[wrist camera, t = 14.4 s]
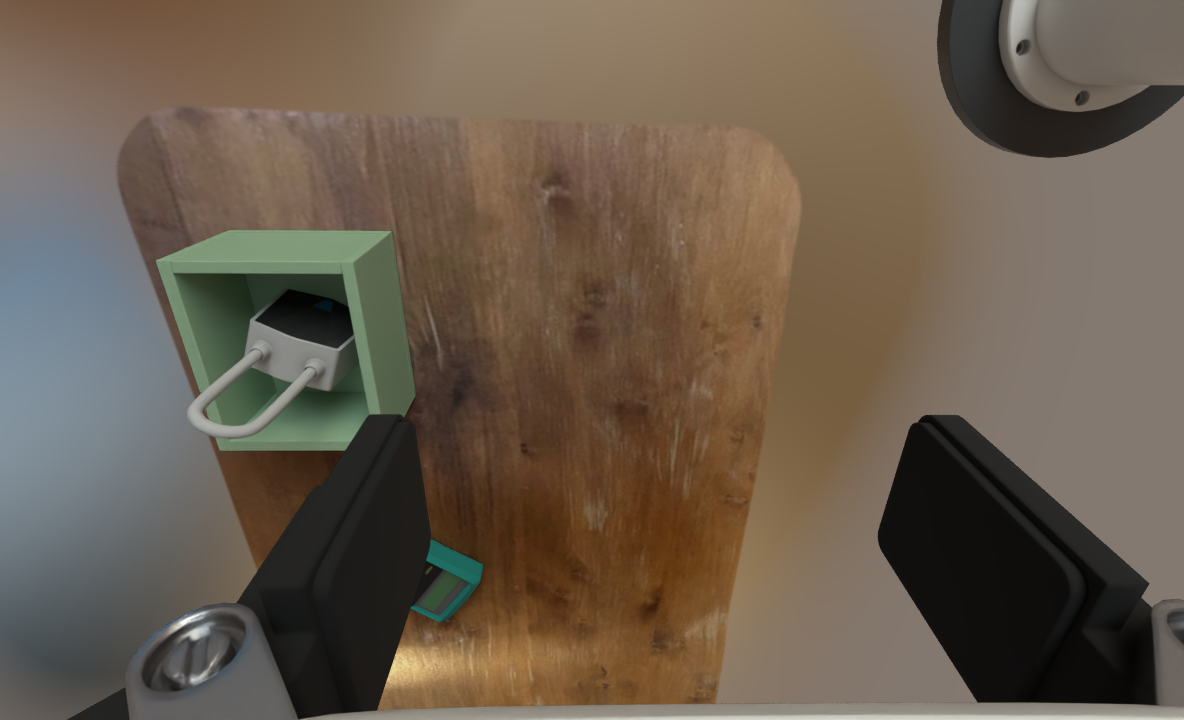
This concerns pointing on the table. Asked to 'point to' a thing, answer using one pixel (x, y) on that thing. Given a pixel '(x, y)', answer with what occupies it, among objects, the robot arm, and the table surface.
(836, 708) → the robot arm
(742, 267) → the table surface
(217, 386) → the padlock
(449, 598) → the digital multimeter
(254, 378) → the holder
